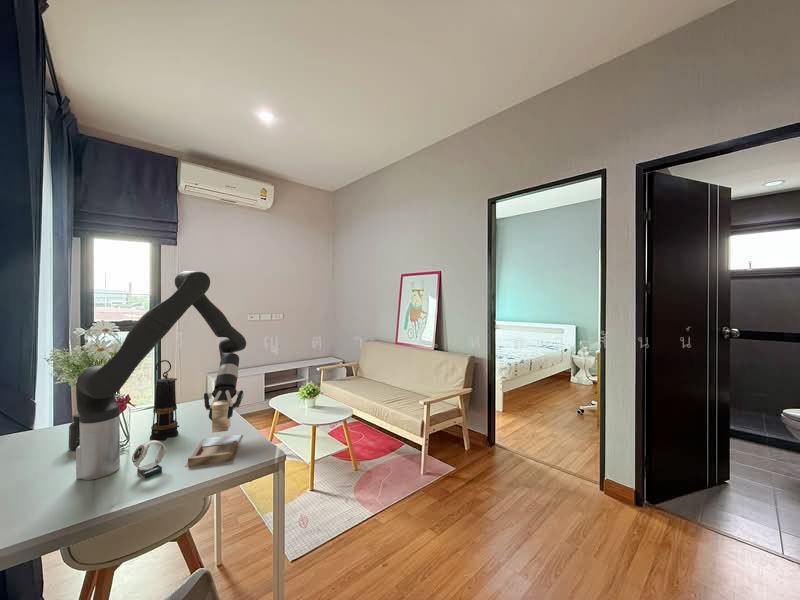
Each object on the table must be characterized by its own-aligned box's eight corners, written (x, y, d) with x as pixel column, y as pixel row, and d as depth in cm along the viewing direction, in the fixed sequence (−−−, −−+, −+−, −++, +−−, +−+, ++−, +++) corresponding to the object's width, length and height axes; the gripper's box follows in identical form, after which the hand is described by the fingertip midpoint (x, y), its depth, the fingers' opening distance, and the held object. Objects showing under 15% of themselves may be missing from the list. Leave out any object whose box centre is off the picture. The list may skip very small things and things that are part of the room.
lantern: (181, 436, 127) (180, 360, 127) (152, 443, 120) (152, 364, 120) (175, 429, 133) (175, 357, 133) (147, 436, 127) (147, 360, 126)
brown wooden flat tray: (184, 471, 102) (184, 459, 102) (202, 443, 121) (202, 432, 121) (233, 465, 106) (233, 453, 106) (243, 438, 125) (243, 428, 125)
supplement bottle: (81, 451, 114) (81, 418, 114) (62, 451, 114) (62, 417, 114) (100, 442, 121) (100, 411, 121) (82, 442, 121) (82, 410, 121)
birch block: (212, 432, 117) (211, 405, 117) (215, 427, 122) (215, 400, 121) (227, 430, 118) (227, 404, 118) (230, 425, 123) (230, 399, 123)
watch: (129, 481, 97) (129, 445, 96) (160, 469, 103) (160, 435, 103) (137, 487, 94) (137, 450, 93) (168, 474, 100) (168, 439, 100)
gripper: (205, 374, 124) (195, 416, 113) (245, 371, 129) (240, 412, 118) (208, 383, 130) (200, 425, 119) (247, 381, 134) (242, 420, 123)
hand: (220, 418), depth 118 cm, fingers closed on birch block, 5 cm apart
